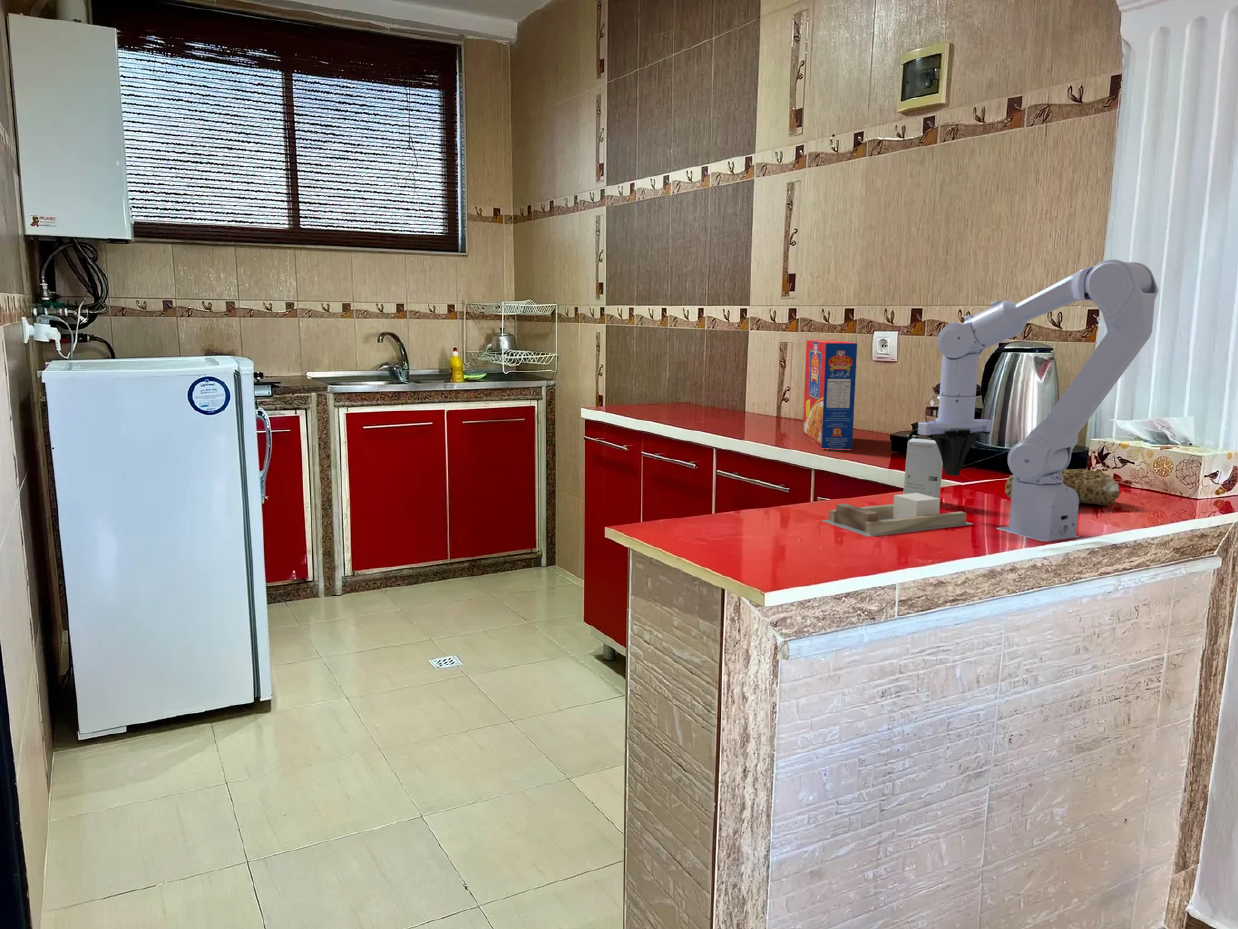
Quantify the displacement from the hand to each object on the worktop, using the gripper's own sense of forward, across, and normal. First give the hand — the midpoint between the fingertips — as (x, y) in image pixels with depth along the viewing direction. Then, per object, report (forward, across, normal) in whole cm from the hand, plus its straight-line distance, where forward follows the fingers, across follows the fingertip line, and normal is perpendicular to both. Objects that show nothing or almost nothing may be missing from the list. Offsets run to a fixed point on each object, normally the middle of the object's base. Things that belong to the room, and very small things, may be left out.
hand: (951, 474), depth 151 cm
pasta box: (+8, -40, -86) cm, 95 cm away
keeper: (+7, +8, 0) cm, 10 cm away
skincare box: (+8, -4, -11) cm, 15 cm away
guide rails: (+8, +12, 0) cm, 14 cm away
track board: (+8, +12, 0) cm, 14 cm away
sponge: (+8, -29, -2) cm, 30 cm away
